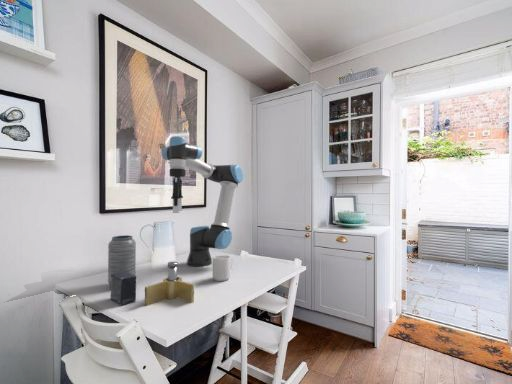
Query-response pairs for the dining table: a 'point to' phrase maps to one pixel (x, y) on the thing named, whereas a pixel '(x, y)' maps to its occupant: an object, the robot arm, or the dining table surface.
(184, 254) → the dining table surface
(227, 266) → the mug
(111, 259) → the vase
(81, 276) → the dining table surface
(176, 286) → the hinge
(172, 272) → the pin
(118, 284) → the small box
